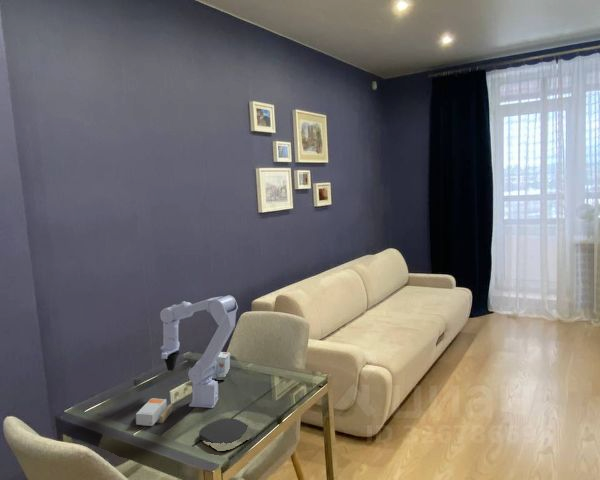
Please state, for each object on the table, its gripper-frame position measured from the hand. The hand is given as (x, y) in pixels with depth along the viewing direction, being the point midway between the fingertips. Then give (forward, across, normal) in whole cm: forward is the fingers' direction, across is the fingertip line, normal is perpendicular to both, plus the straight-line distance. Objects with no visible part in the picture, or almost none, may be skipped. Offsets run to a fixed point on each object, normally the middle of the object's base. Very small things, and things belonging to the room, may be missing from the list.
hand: (170, 369), depth 175 cm
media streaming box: (+10, +28, +29) cm, 42 cm away
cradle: (+10, +17, 0) cm, 20 cm away
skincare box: (+8, +12, 0) cm, 15 cm away
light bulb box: (+11, -19, +13) cm, 25 cm away
